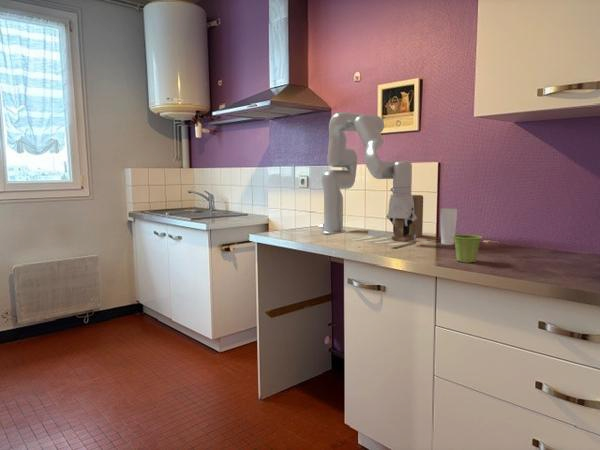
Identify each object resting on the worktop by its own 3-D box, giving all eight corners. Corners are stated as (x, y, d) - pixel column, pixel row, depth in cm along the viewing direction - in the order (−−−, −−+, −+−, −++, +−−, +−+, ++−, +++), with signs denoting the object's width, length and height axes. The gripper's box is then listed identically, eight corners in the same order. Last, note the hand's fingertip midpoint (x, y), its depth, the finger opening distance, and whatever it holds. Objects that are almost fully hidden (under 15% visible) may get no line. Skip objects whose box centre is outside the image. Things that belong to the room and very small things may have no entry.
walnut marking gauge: (391, 239, 187) (392, 219, 185) (397, 238, 190) (398, 218, 189) (404, 241, 182) (404, 220, 181) (410, 239, 186) (410, 219, 185)
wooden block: (414, 241, 194) (415, 196, 192) (393, 239, 200) (394, 195, 198) (423, 238, 202) (424, 195, 200) (402, 236, 208) (403, 194, 206)
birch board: (349, 243, 190) (349, 233, 190) (370, 238, 202) (370, 230, 202) (396, 248, 175) (396, 239, 174) (415, 244, 187) (415, 234, 186)
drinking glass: (458, 245, 182) (459, 209, 180) (442, 245, 182) (443, 209, 180) (452, 243, 189) (453, 208, 187) (436, 243, 189) (438, 208, 187)
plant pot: (452, 258, 156) (452, 233, 155) (480, 259, 153) (481, 235, 152) (450, 263, 147) (451, 237, 146) (481, 265, 144) (482, 238, 143)
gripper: (380, 191, 187) (379, 233, 189) (415, 192, 176) (414, 237, 178) (389, 190, 192) (388, 231, 194) (424, 191, 181) (423, 235, 183)
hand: (401, 234), depth 186 cm, fingers closed on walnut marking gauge, 4 cm apart
